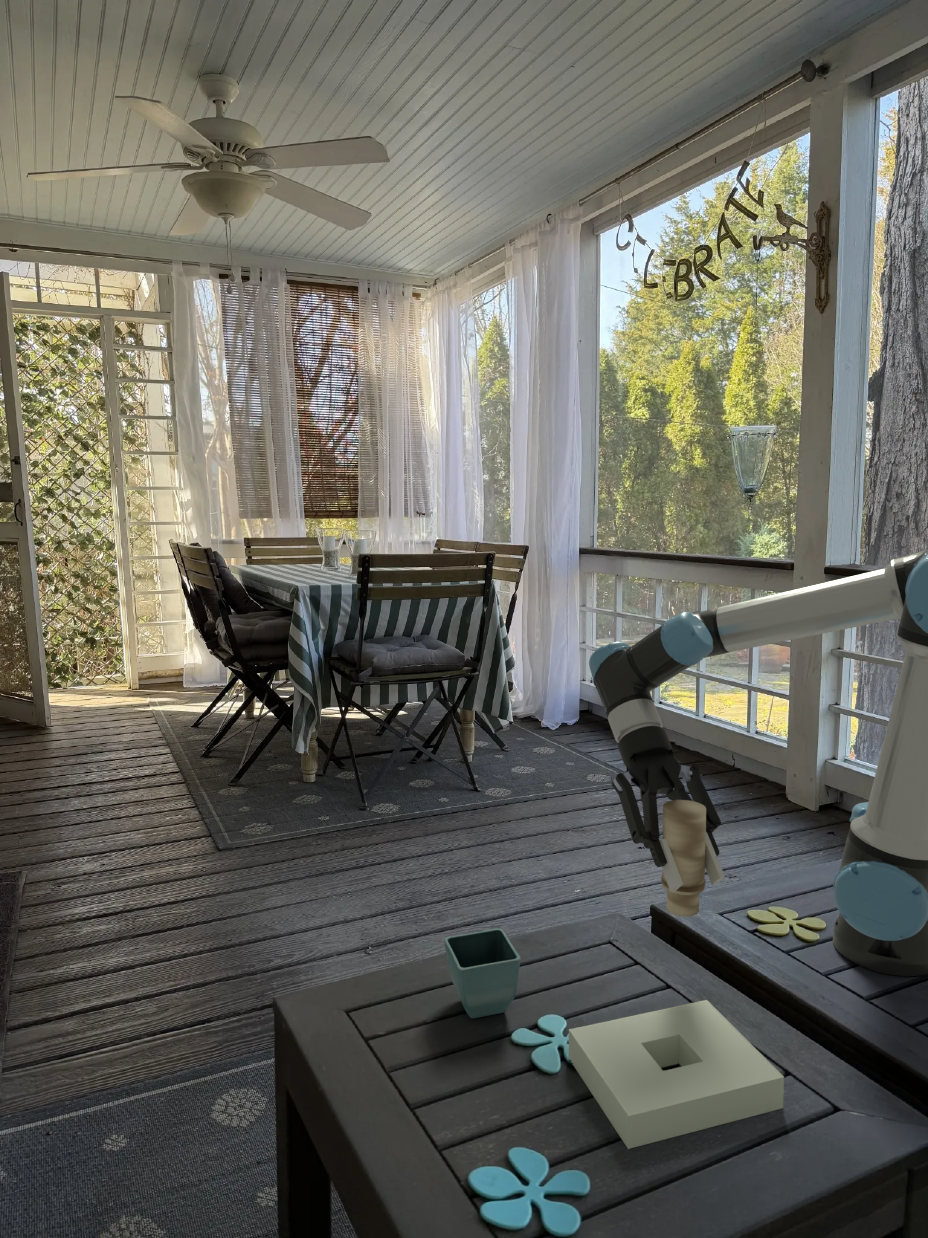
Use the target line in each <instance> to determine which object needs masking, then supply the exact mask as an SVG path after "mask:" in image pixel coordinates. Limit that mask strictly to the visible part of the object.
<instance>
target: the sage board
mask: <svg viewBox="0 0 928 1238" xmlns="http://www.w3.org/2000/svg"><path fill="white" fill-rule="evenodd" d="M741 1033H742V1032H741ZM741 1033H740V1031H739V1030H738V1029H737V1028H736V1027H734V1025H733V1024H731V1022H730V1021H729V1020H728V1019H727V1018H725V1016H724V1015H722V1013H721V1012H720V1011H719V1010H718V1009H717V1008H715V1007H714V1005H712V1003H711V1002H710V1001H708V1000H707V999H704V1000H699V1001H695V1002H691V1003H686V1004H682V1005H675V1006H673V1007H666V1008H664V1009H663V1008H662V1009H659V1010H654V1011H649V1012H643V1013H639V1014H634V1015H630V1016H626V1017H620V1018H616V1019H611V1020H608V1021H602V1022H601V1021H600V1022H598V1023H592V1024H589V1025H587V1024H586V1025H583V1026H578V1027H574V1028H569V1029H568V1059H569V1058H570V1059H569V1061H570V1060H571V1061H572V1062H573V1064H572V1065H573V1067H574V1069H575V1070H576V1072H577V1074H578V1075H579V1076H580V1078H581V1079H582V1081H583V1082H584V1084H585V1086H586V1087H587V1088H588V1090H589V1092H590V1093H591V1095H592V1096H593V1098H594V1099H595V1101H596V1102H597V1104H598V1105H599V1107H600V1108H601V1110H602V1111H603V1113H604V1114H605V1116H606V1117H607V1119H608V1120H609V1122H610V1123H611V1126H612V1127H613V1128H614V1129H615V1131H616V1133H617V1134H618V1136H619V1137H620V1139H621V1140H622V1142H623V1143H624V1145H625V1146H626V1149H627V1150H630V1149H633V1148H636V1147H637V1148H638V1147H641V1146H645V1145H649V1144H652V1143H656V1142H660V1141H664V1140H669V1139H671V1138H676V1137H679V1136H683V1135H686V1134H690V1133H694V1132H698V1131H702V1130H706V1129H709V1128H713V1127H716V1126H721V1125H724V1124H728V1123H733V1122H736V1121H740V1120H744V1119H747V1118H751V1117H754V1116H758V1115H759V1116H760V1115H762V1114H766V1113H771V1112H774V1111H778V1110H782V1109H784V1089H785V1087H784V1086H785V1085H784V1084H785V1076H784V1075H783V1074H782V1073H781V1072H780V1071H779V1070H778V1069H777V1068H776V1067H775V1066H774V1065H773V1064H772V1063H771V1062H770V1061H769V1060H768V1059H767V1058H766V1057H764V1055H763V1054H762V1053H761V1052H760V1051H759V1050H758V1049H756V1047H754V1045H752V1043H751V1042H750V1041H749V1040H748V1039H746V1037H744V1035H743V1034H741ZM571 1061H570V1062H571ZM572 1062H571V1063H572ZM678 1064H679V1066H678V1067H674V1068H672V1069H671V1068H670V1069H667V1070H663V1069H662V1068H667V1067H670V1066H674V1065H678Z"/></svg>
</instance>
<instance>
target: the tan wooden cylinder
mask: <svg viewBox="0 0 928 1238" xmlns="http://www.w3.org/2000/svg"><path fill="white" fill-rule="evenodd" d="M662 839H666V840H667V843H668V845H669V848H670V850H671V853H672V856H673V858H674V861H675V864H676V866H677V869H678V872H679V874H680V877H681V880H682V882H683V885H682V886H680V887H679V888H678V889H677V890H676V891H674V892H670V889H669V886H668V884H667V881H666V878H665V876H664V873H663V870H662V869H661V877H660V879H661V880H660V881H661V885H662V888H664V889H665V890H666V911H667V912H668V913H670V914H672V915H675V916H678V917H685V918H688V917H694V916H696V915H697V914H699V912H700V894H701V893H702V892H704V891H705V888H706V869H705V843H706V807H705V806H704V805H702V804H700V803H698V802H694V801H688V800H673V801H672V800H669V801H666V802H665V803H663V805H662Z"/></svg>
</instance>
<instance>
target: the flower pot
mask: <svg viewBox="0 0 928 1238" xmlns="http://www.w3.org/2000/svg"><path fill="white" fill-rule="evenodd" d="M444 947H445V954H446V961H447V966H448V967H447V968H448V971H449V972H448V973H449V975H450V979H451V981H452V984H453V986H454V989H455V991H456V992H457V995H458V997H459V999H460V1002H461V1004H462V1006H463V1009H464V1010H465V1012H466V1014H467V1015H468V1017H469V1018H470V1019H478V1018H482V1017H483V1018H484V1017H488V1016H493V1015H497V1014H503V1013H505V1012H506V1011H507V1010H508V1009H509V1007H510V1006H511V1005H512V1002H513V1001H514V999H515V997H516V994H517V991H518V986H519V976H520V967H521V956H520V954H519V953H518V951H517V950H516V948H515V947H514V946H513V944H512V942H511V941H510V939H509V937H508V936H507V934H506V932H505V931H504V930H503V929H502V928H492V929H487V930H482V931H477V932H475V931H474V932H470V933H464V934H459V935H458V934H457V935H451V936H447V937H444Z"/></svg>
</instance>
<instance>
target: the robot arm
mask: <svg viewBox="0 0 928 1238" xmlns="http://www.w3.org/2000/svg"><path fill="white" fill-rule="evenodd" d="M897 619H898V620H900V621H899V624H898V629H897V633H896V637H897V638H896V639H897V640H899V642H900V643H901V644H902V646H903V648H904V650H905V653H904V659H903V662H902V666H901V669H900V674H899V678H898V682H897V685H896V689H895V693H894V698H893V702H892V706H891V710H890V714H889V719H888V723H887V726H886V731H885V734H884V739H883V742H882V746H881V750H880V754H879V759H878V762H877V767H876V771H875V775H874V778H873V782H872V787H871V791H870V795H869V798H868V801H865V802H859V803H857V804H855V805H854V806H853V807H852V809H851V816H850V818H849V822H850V825H849V829H848V833H847V838H846V840H845V846H844V849H843V853H842V857H841V862H840V866H839V869H838V872H837V873H836V875H835V876H834V879H833V883H832V891H833V900H834V903H835V907H836V909H837V911H838V912H839V915H838V917H837V919H836V920H835V921H834V924H833V929H832V943H833V945H834V948H835V949H836V950H837V951H838V953H840V954H841V956H843V957H845V959H847V960H849V961H851V963H852V962H853V963H854V964H856V965H858V966H861V967H862V968H865V969H868V970H871V971H873V972H874V971H875V972H877V973H881V974H886V975H892V976H898V977H899V976H900V977H917V976H923V975H927V974H928V548H927V549H925V550H921V551H919V552H915V553H912V554H908V555H906V556H901V557H897V558H893V559H891V560H890V562H889V563H888V564H887V565H886V567H885V568H882V569H877V570H872V571H867V572H864V573H861V574H860V573H859V574H856V575H852V576H847V577H842V578H839V579H834V580H829V581H825V582H822V583H817V584H813V585H808V586H805V587H799V588H796V589H792V590H787V591H784V592H783V591H782V592H779V593H774V594H770V595H766V596H762V597H757V598H752V599H748V600H745V601H740V602H736V603H732V604H727V605H722V606H719V607H715V608H711V609H710V608H709V609H707V610H706V609H705V610H695V611H691V612H690V611H684V612H680V613H679V614H677V615H676V616H673V617H671V618H670V619H668V620H666V621H665V622H664V623H663V624H661V625H660V626H658V627H656V629H653V631H651V632H650V633H648V634H647V635H646V636H644V637H643V638H641V639H640V640H639V641H637V642H636V643H634V644H632V645H629V644H628V643H626V642H623V641H614V642H609V643H608V644H607V645H606V644H605V645H601V646H600V647H598V648H597V649H596V650H595V651H593V652H592V654H591V655H590V658H589V661H588V666H589V669H590V673H591V677H592V682H593V686H594V687H595V689H596V691H597V693H598V696H599V698H600V702H601V704H602V707H603V709H604V712H605V714H606V718H607V720H608V723H609V726H610V729H611V731H612V734H613V737H614V740H615V741H616V743H618V744H617V749H618V752H619V754H620V756H621V759H622V762H623V765H624V766H625V767H626V771H625V772H624V773H621V772H619V773H617V774H616V776H615V777H614V778H613V780H612V781H611V786H612V787H613V790H615V792H616V793H617V794H618V797H619V799H620V803H621V807H622V809H623V813H624V817H625V820H626V824H627V827H628V829H629V834H630V836H631V840H632V842H633V843H634V844H636V845H638V844H643V847H644V848H645V849H649V851H650V854H651V857H652V860H653V863H654V865H655V866H656V868H661V871H662V870H663V873H664V876H665V878H666V881H667V884H668V886H669V889H670V892H674V891H676V890H677V889H678V888H679V887H680V886H682V885H683V882H682V880H681V877H680V874H679V872H678V869H677V866H676V864H675V861H674V858H673V856H672V853H671V850H670V848H669V845H668V843H667V840H666V839H663V838H661V837H660V836H661V835H660V824H659V813H658V801H657V796H658V795H659V794H661V795H666V797H667V799H668V800H669V801H673V800H688V801H694V802H698V803H700V804H702V805H704V806H705V807H706V843H705V872H706V874H707V876H708V879H709V880H710V883H711V885H712V886H713V885H717V884H719V883H720V882H721V881H722V880H724V878H725V874H724V870H723V869H722V868H723V867H722V865H721V863H720V861H719V858H718V856H720V849H719V846H718V844H717V842H716V840H715V837H714V832H715V831H716V830H717V829H718V828H719V827H720V826H721V825H722V821H721V818H720V816H719V813H718V812H717V810H716V808H715V806H714V804H713V802H712V800H711V798H710V796H709V793H708V791H707V789H706V787H705V785H704V783H703V780H702V779H701V773H700V770H701V769H700V766H699V765H698V764H697V763H692V764H691V765H690V766H688V765H683V764H681V763H680V761H679V760H677V759H676V757H675V755H674V749H673V747H672V744H671V741H670V739H669V737H668V734H667V732H666V729H664V728H663V727H664V724H663V721H662V719H661V716H660V714H659V711H658V710H657V707H656V705H655V702H654V700H653V696H652V694H651V691H653V690H655V689H658V687H660V686H662V684H665V683H666V682H667V681H669V680H671V679H672V678H674V677H676V676H678V675H680V674H681V673H683V672H684V671H685V670H687V669H688V668H690V667H692V666H695V665H697V664H698V663H699V662H701V661H702V660H703V659H706V658H710V657H714V656H719V655H724V654H728V653H732V652H736V651H743V650H747V649H752V648H757V647H762V646H768V645H773V644H776V643H783V642H787V641H793V640H798V639H802V638H807V637H813V636H818V635H822V634H826V633H827V634H828V633H833V632H837V631H838V632H839V631H842V630H847V629H853V628H859V627H863V626H868V625H873V624H878V623H883V622H887V621H893V620H897ZM680 776H681V777H682V780H681V779H680ZM682 781H683V782H686V788H687V790H688V792H689V793H688V792H687V791H686V788H685V785H684V783H683V782H682ZM632 784H634V786H635V787H637V788H639V790H640V791H639V793H640V802H641V803H642V815H641V811H640V808H639V805H638V802H637V798H636V794H635V793H634V789H633V787H632ZM689 794H690V795H689ZM642 816H643V817H642ZM660 838H661V839H660Z"/></svg>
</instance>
